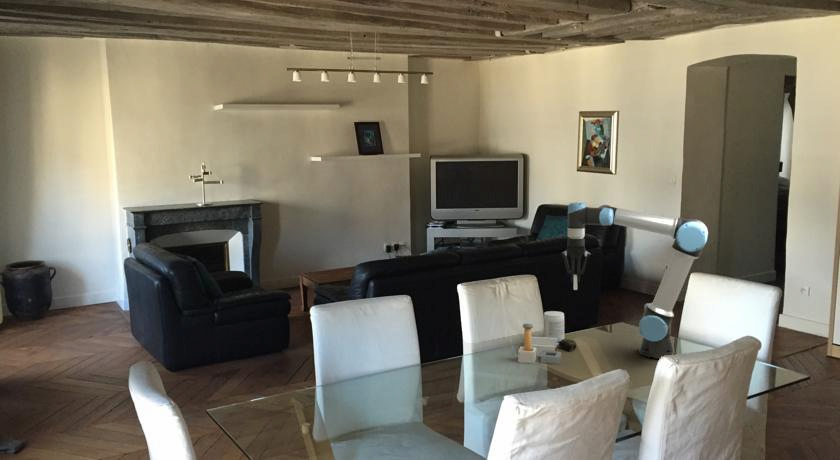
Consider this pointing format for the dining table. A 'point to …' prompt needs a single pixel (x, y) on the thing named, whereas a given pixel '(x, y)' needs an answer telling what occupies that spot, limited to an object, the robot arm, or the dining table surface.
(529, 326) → the lock pin
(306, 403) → the dining table surface
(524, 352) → the socket block
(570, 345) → the tape measure
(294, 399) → the dining table surface
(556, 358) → the pin mount
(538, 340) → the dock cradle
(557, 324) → the supplement tub
